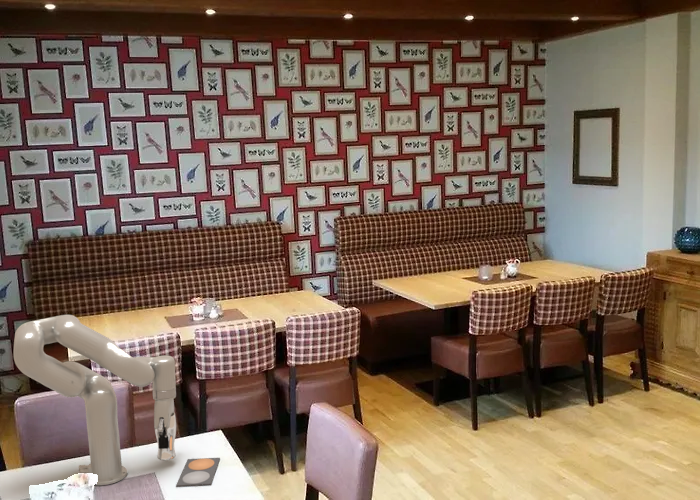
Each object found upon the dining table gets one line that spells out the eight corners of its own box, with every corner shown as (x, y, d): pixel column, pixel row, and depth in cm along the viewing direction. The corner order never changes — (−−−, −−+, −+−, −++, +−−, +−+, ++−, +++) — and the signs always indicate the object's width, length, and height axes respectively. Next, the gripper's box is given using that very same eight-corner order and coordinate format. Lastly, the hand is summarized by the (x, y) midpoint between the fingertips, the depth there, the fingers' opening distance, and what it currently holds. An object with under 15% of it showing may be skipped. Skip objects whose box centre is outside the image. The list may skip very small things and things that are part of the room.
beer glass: (171, 461, 237) (170, 418, 236) (152, 460, 239) (150, 417, 237) (180, 453, 244) (179, 411, 242) (161, 451, 246) (160, 410, 244)
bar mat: (176, 487, 225) (176, 484, 225) (187, 460, 244) (187, 458, 244) (211, 485, 225) (210, 483, 225) (220, 459, 244) (219, 457, 244)
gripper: (159, 384, 247) (161, 434, 249) (146, 401, 230) (148, 454, 232) (180, 384, 247) (182, 434, 250) (169, 401, 230) (171, 454, 232)
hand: (166, 443), depth 241 cm, fingers closed on beer glass, 6 cm apart
